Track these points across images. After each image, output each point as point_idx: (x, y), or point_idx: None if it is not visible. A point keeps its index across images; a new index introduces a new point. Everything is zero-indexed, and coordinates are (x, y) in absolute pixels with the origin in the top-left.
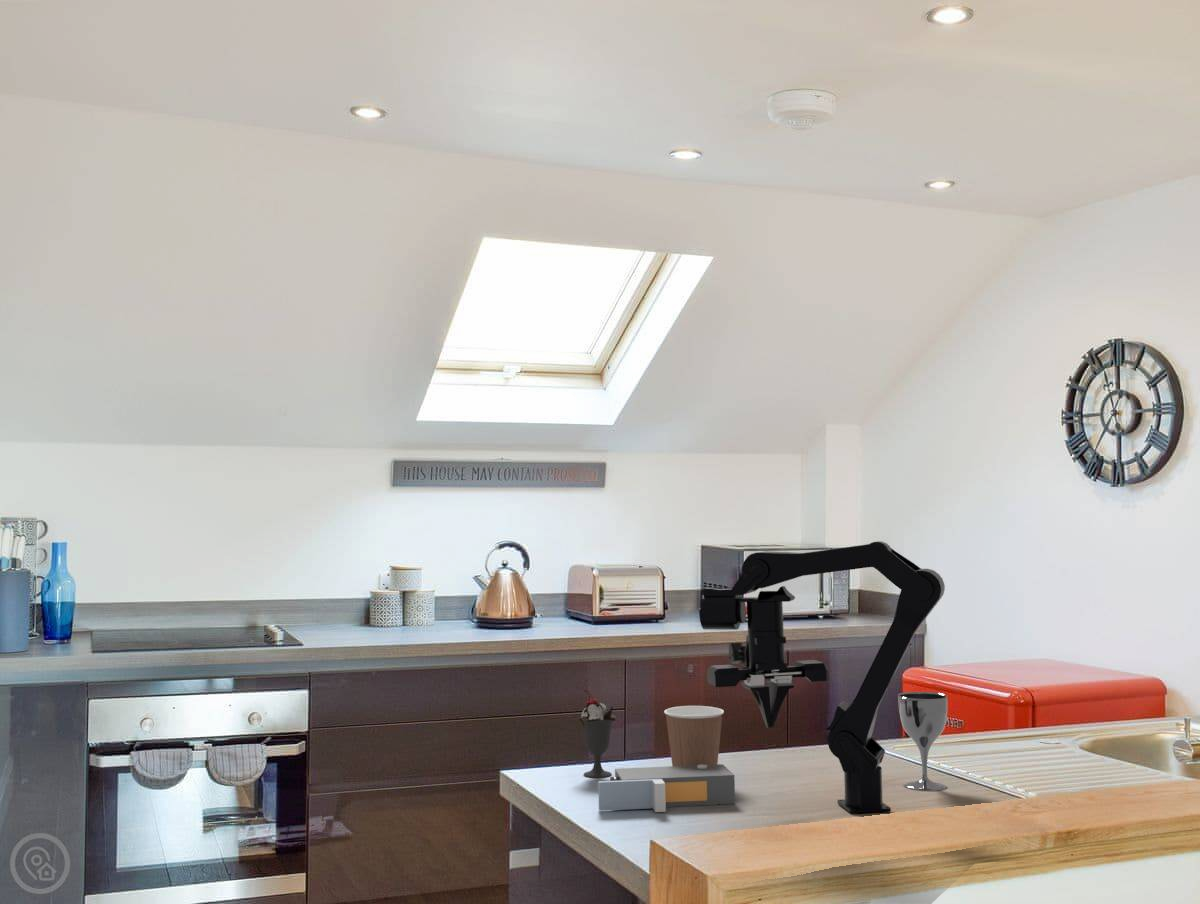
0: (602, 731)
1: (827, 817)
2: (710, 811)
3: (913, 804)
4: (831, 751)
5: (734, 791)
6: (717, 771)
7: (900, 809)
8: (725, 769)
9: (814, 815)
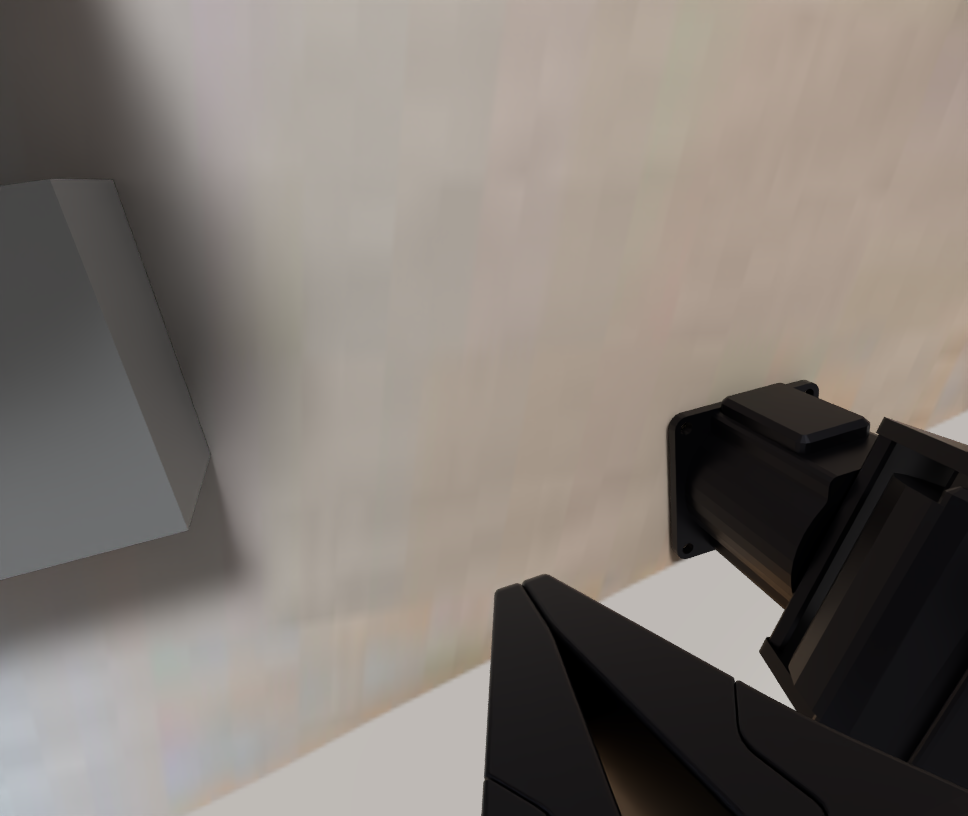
0: None
1: None
2: (89, 596)
3: (901, 400)
4: (792, 679)
5: (201, 483)
6: (42, 443)
7: None
8: (101, 374)
9: None
